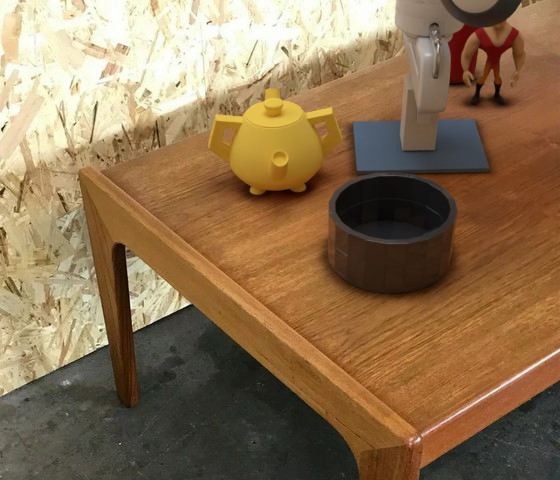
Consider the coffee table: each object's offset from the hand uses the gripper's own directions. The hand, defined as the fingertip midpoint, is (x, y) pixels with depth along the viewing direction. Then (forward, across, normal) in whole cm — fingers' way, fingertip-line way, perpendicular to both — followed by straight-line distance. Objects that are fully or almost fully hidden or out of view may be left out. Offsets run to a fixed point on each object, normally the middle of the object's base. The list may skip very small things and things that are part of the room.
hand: (420, 112), depth 110 cm
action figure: (+6, +14, -12) cm, 19 cm away
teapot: (+6, -8, +20) cm, 22 cm away
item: (+4, 0, 0) cm, 5 cm away
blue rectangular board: (+5, 0, 0) cm, 5 cm away
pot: (+5, -26, +6) cm, 27 cm away
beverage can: (+6, +22, -8) cm, 25 cm away
